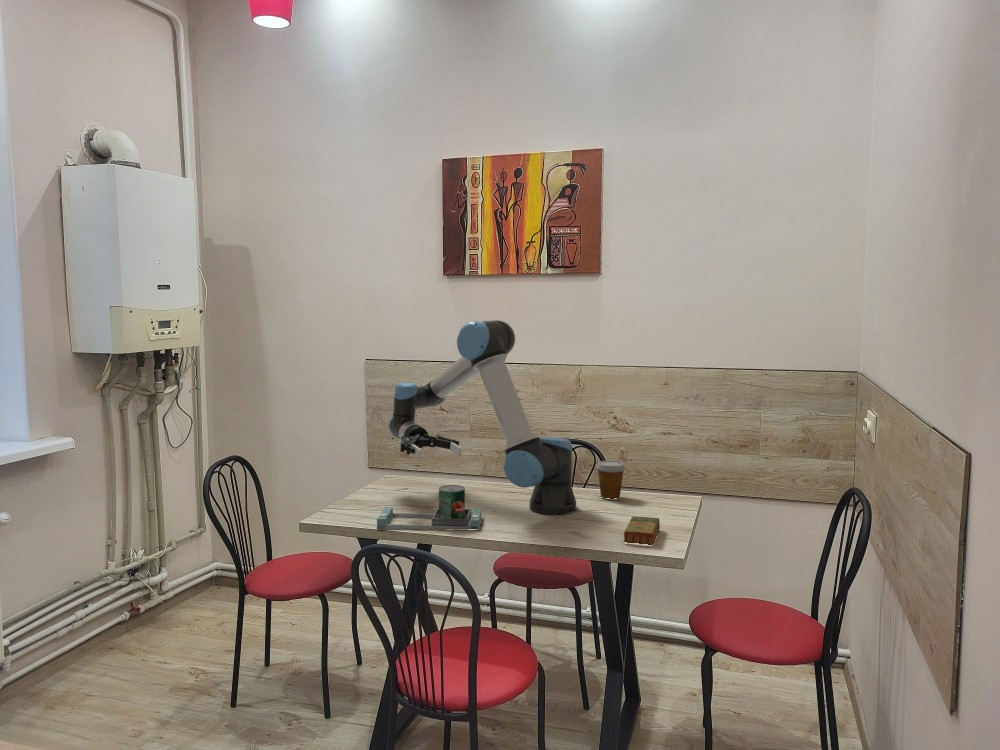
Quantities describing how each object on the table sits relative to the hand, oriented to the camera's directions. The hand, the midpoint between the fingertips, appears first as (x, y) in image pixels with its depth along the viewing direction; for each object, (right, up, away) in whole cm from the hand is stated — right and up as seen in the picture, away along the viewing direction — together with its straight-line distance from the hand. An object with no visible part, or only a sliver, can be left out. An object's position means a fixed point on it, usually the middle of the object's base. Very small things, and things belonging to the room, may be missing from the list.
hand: (440, 453), depth 238 cm
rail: (-3, -20, -6) cm, 22 cm away
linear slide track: (-3, -20, -6) cm, 22 cm away
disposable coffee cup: (+56, -18, +24) cm, 63 cm away
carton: (+59, -23, -19) cm, 66 cm away
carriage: (+4, -19, -7) cm, 21 cm away
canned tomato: (+4, -21, -7) cm, 22 cm away
